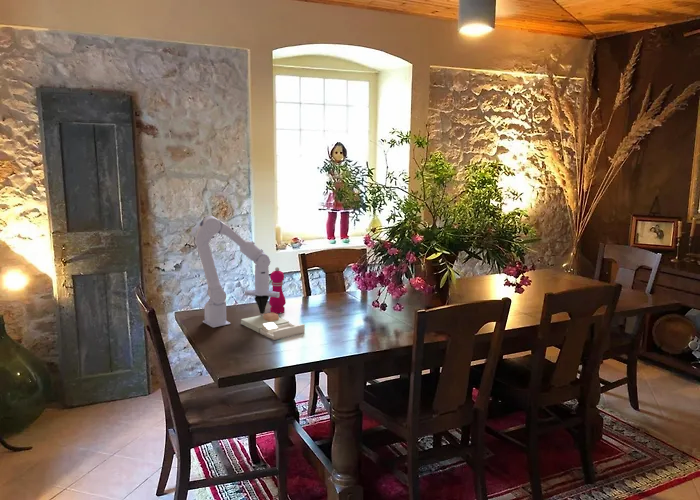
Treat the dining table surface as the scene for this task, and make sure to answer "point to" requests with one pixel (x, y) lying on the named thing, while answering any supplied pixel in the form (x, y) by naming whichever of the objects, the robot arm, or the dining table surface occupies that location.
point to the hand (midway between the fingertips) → (262, 312)
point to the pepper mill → (277, 287)
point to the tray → (284, 331)
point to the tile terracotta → (271, 316)
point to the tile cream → (269, 327)
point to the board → (260, 322)
